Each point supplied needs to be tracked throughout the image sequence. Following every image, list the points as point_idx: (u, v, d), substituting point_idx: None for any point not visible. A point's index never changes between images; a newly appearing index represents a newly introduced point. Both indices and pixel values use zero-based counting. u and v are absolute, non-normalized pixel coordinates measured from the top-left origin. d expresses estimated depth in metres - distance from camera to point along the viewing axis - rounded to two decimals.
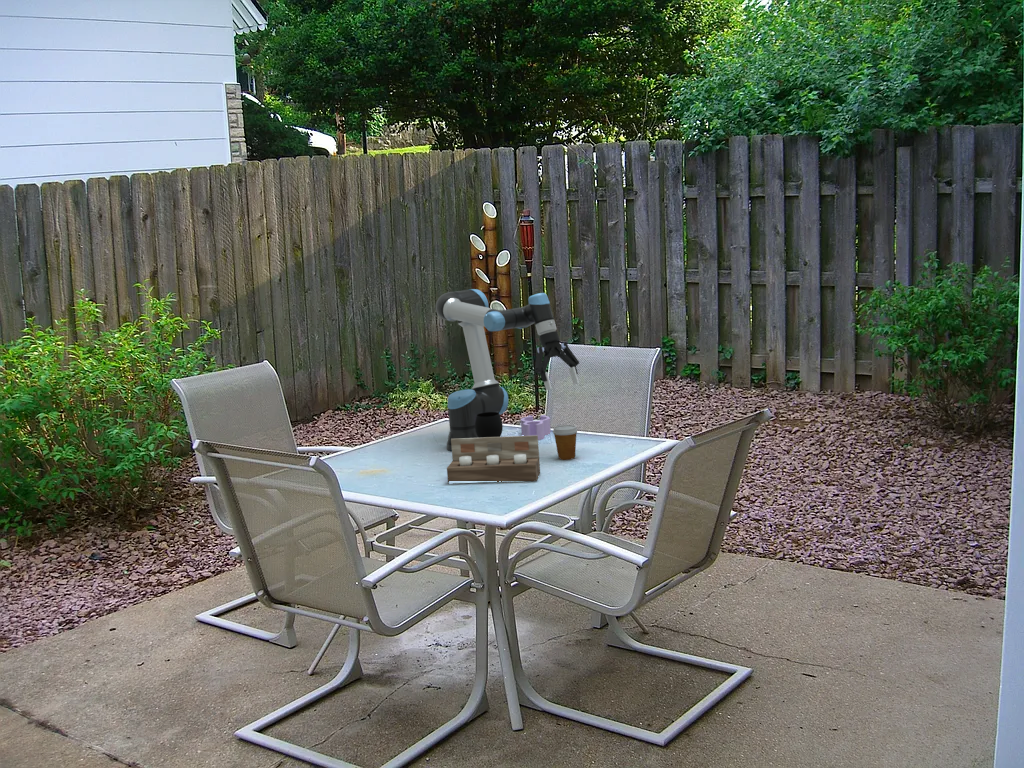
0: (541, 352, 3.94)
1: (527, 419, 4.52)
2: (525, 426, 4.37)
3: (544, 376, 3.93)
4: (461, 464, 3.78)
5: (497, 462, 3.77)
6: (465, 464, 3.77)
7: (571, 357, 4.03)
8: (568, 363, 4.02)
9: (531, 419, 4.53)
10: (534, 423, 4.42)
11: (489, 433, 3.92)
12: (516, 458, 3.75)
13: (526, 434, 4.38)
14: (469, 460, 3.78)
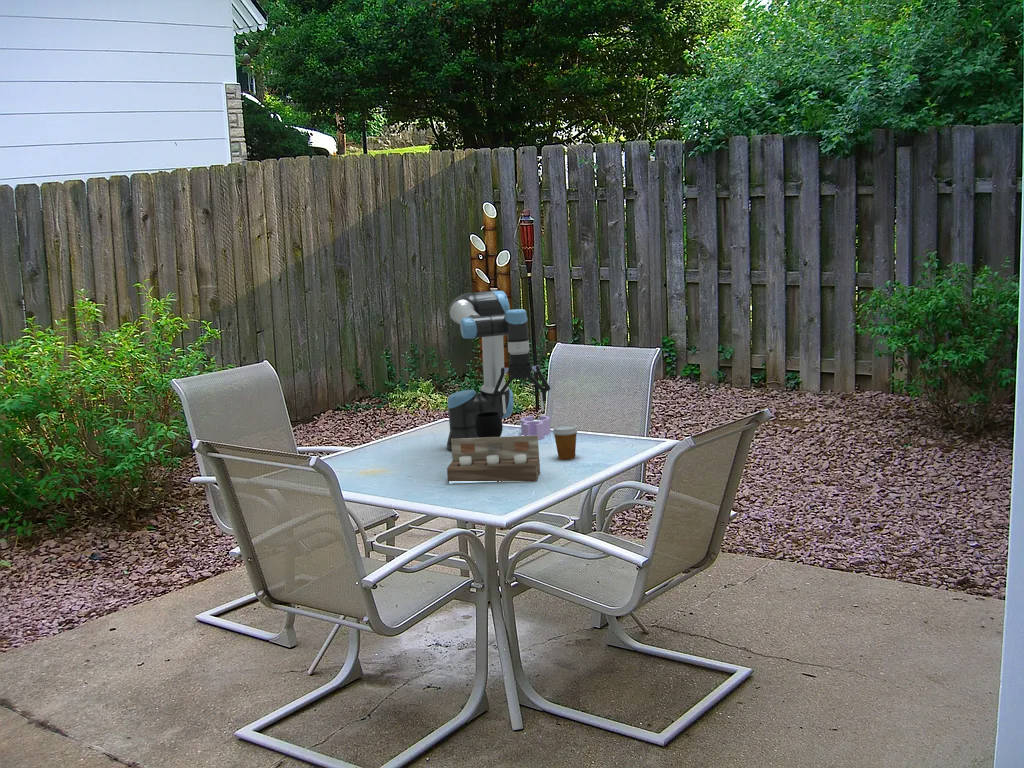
0: (502, 374, 3.73)
1: (527, 419, 4.52)
2: (525, 426, 4.37)
3: (500, 399, 3.75)
4: (461, 464, 3.78)
5: (497, 462, 3.77)
6: (465, 464, 3.77)
7: None
8: None
9: (531, 419, 4.53)
10: (534, 423, 4.42)
11: (489, 433, 3.92)
12: (516, 458, 3.75)
13: (526, 434, 4.38)
14: (469, 460, 3.78)
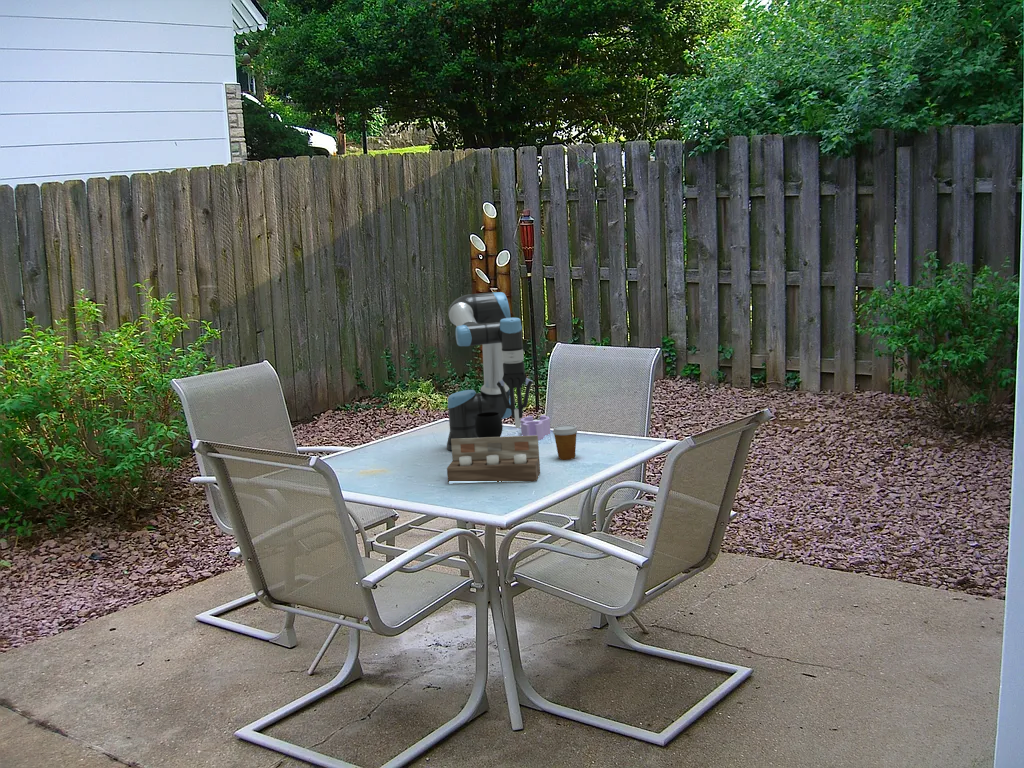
0: (501, 388, 3.72)
1: (527, 419, 4.52)
2: (524, 426, 4.37)
3: (512, 413, 3.73)
4: (461, 464, 3.78)
5: (497, 462, 3.77)
6: (465, 464, 3.77)
7: None
8: None
9: (531, 419, 4.53)
10: (534, 423, 4.42)
11: (489, 433, 3.92)
12: (516, 458, 3.75)
13: (525, 434, 4.37)
14: (469, 460, 3.78)
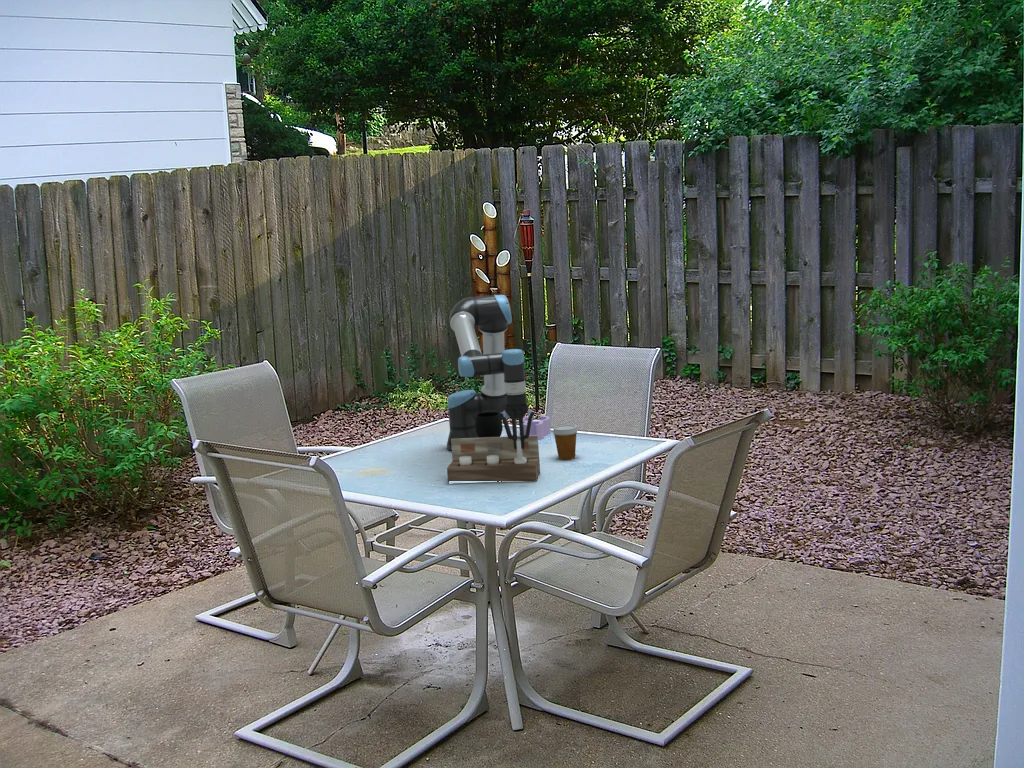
0: (503, 419, 3.74)
1: (527, 419, 4.52)
2: (525, 426, 4.37)
3: (515, 444, 3.75)
4: (461, 464, 3.78)
5: (497, 462, 3.77)
6: (465, 464, 3.77)
7: None
8: None
9: None
10: (534, 423, 4.42)
11: (489, 433, 3.92)
12: (516, 461, 3.75)
13: None
14: (469, 460, 3.78)
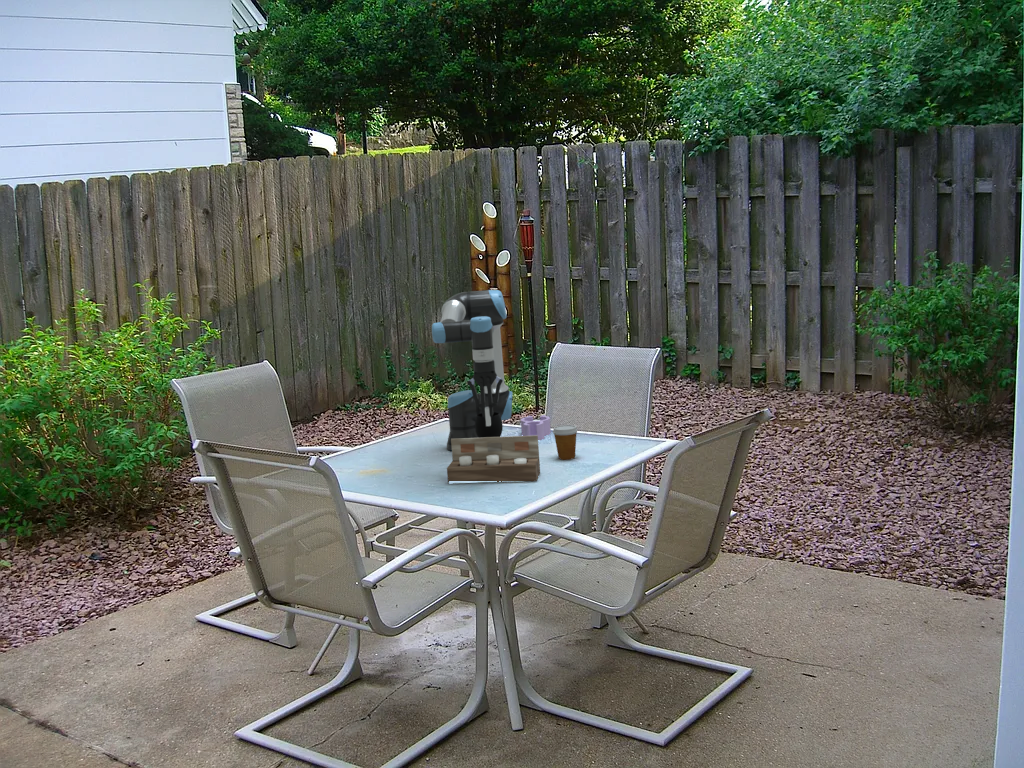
0: (471, 386, 3.73)
1: (527, 419, 4.51)
2: (525, 426, 4.37)
3: (483, 411, 3.75)
4: (461, 464, 3.78)
5: (497, 462, 3.77)
6: (465, 464, 3.77)
7: (495, 395, 3.74)
8: None
9: (531, 419, 4.52)
10: (534, 423, 4.42)
11: (489, 433, 3.92)
12: (516, 462, 3.75)
13: (526, 434, 4.37)
14: (469, 460, 3.78)
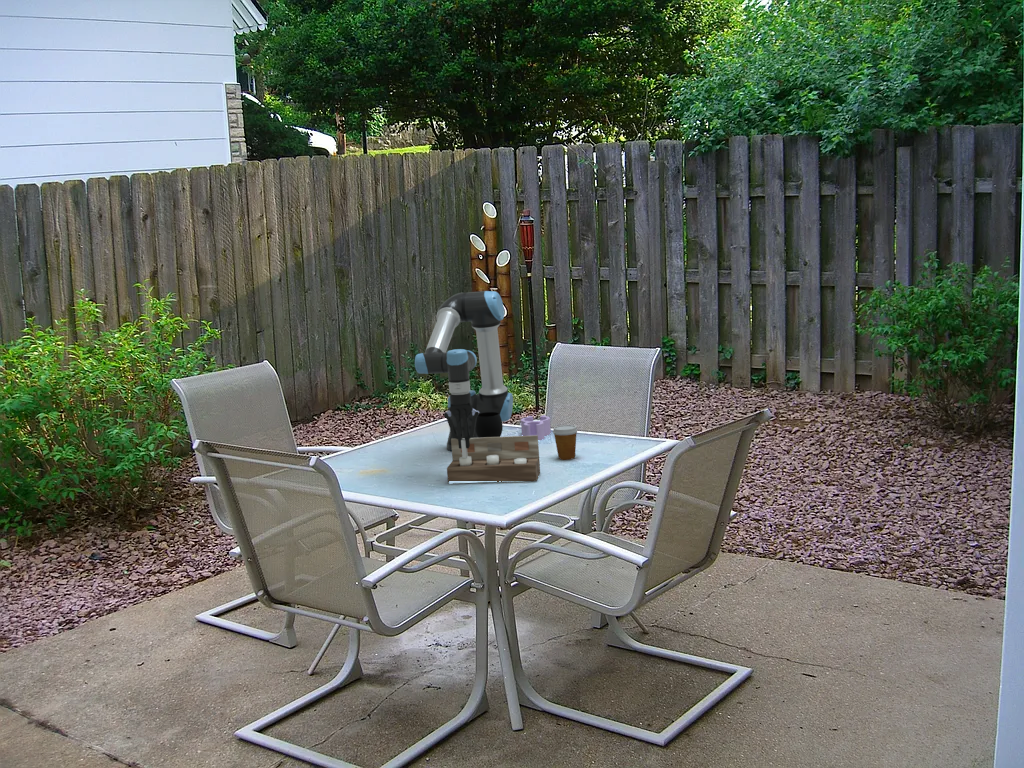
0: (447, 418, 3.76)
1: (527, 419, 4.51)
2: (525, 426, 4.37)
3: (459, 443, 3.78)
4: (461, 464, 3.78)
5: (497, 462, 3.77)
6: (465, 464, 3.77)
7: (471, 427, 3.76)
8: None
9: (531, 419, 4.52)
10: (534, 423, 4.42)
11: (489, 433, 3.92)
12: (516, 462, 3.75)
13: (526, 434, 4.37)
14: (469, 460, 3.78)
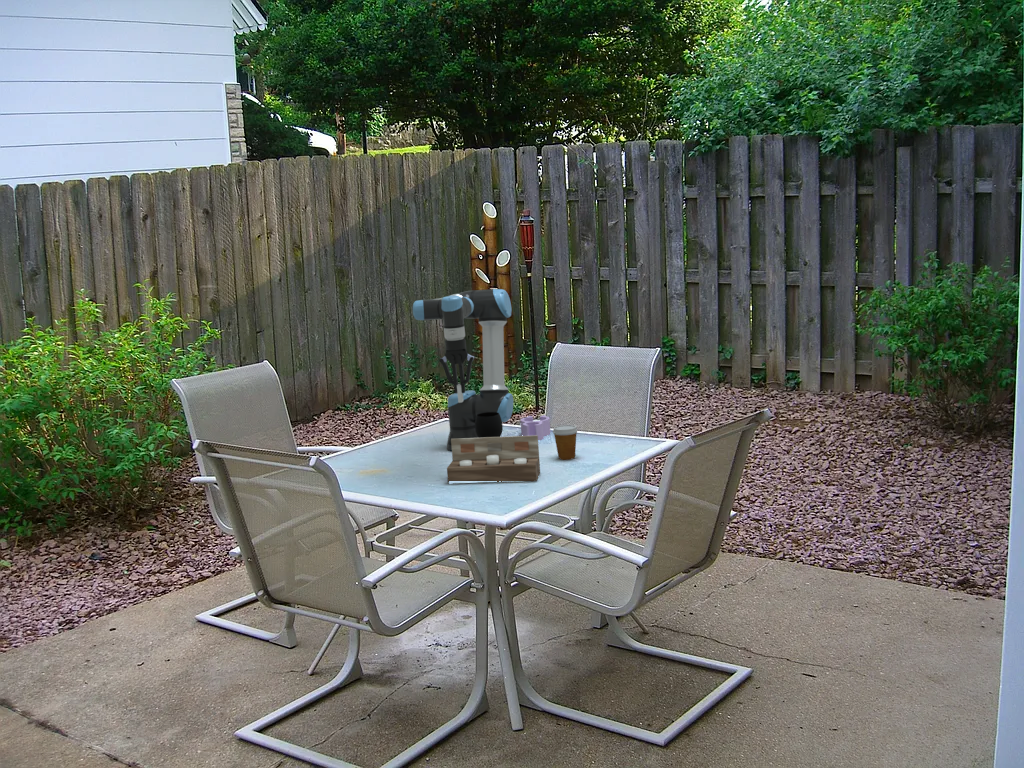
0: (443, 364, 3.83)
1: (527, 419, 4.51)
2: (524, 427, 4.36)
3: (455, 388, 3.85)
4: None
5: (497, 462, 3.77)
6: None
7: (466, 372, 3.84)
8: None
9: (531, 419, 4.52)
10: (533, 423, 4.41)
11: (489, 433, 3.92)
12: (516, 462, 3.75)
13: (525, 435, 4.37)
14: (469, 464, 3.78)
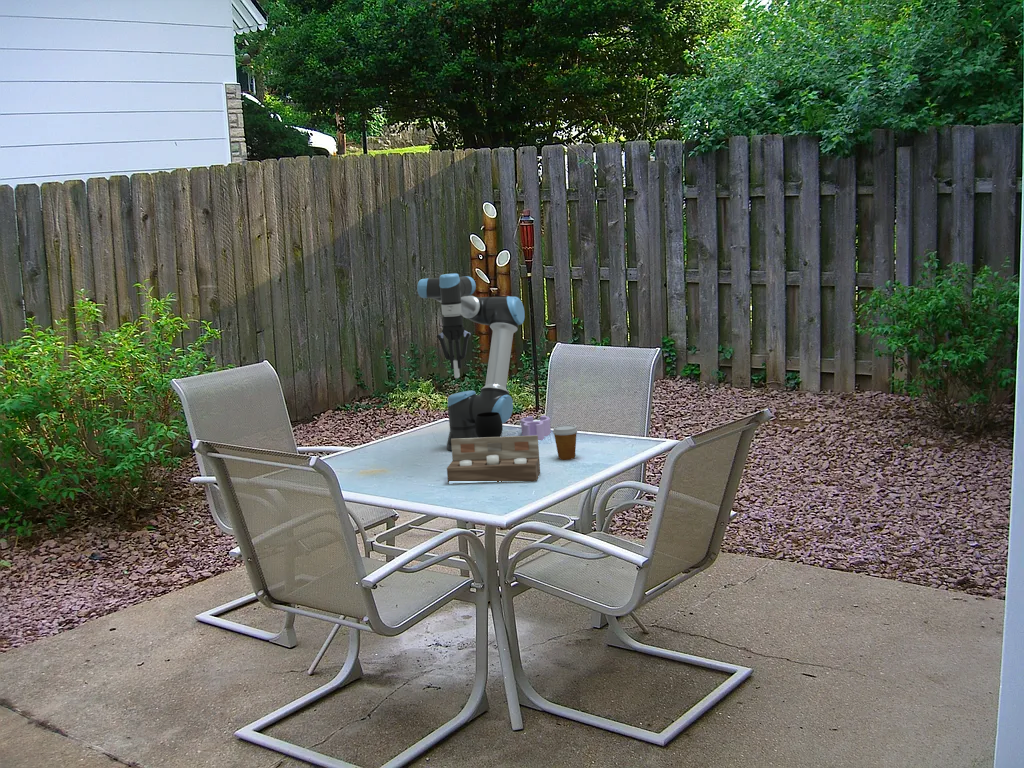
0: (440, 340, 3.94)
1: (527, 419, 4.51)
2: (525, 427, 4.36)
3: (452, 364, 3.96)
4: None
5: (497, 462, 3.77)
6: None
7: (463, 348, 3.94)
8: None
9: (531, 419, 4.52)
10: (534, 424, 4.41)
11: (489, 433, 3.92)
12: (516, 462, 3.75)
13: (526, 435, 4.37)
14: (469, 464, 3.78)
